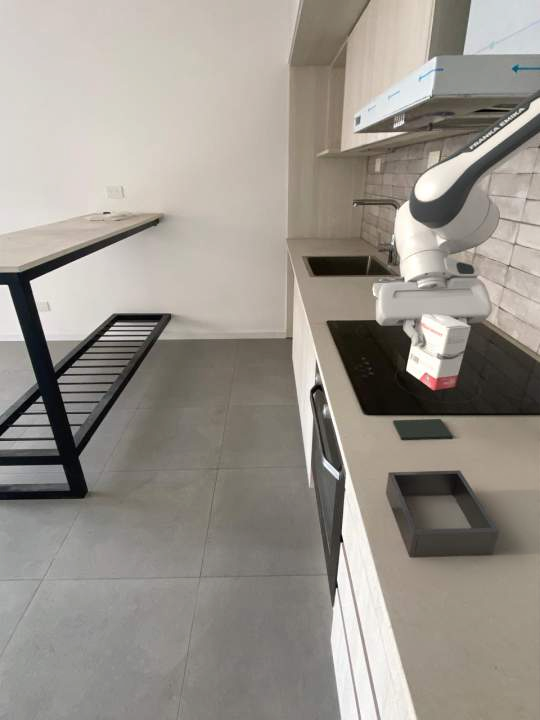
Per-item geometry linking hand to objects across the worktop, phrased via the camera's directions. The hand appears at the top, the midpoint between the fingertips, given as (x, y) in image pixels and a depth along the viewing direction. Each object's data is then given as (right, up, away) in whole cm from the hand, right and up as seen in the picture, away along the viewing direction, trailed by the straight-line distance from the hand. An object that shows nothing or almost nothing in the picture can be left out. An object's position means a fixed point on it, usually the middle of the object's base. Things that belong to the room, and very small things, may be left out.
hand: (438, 344), depth 70 cm
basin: (-5, -27, -11) cm, 30 cm away
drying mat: (+1, -17, +10) cm, 20 cm away
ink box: (0, -6, +3) cm, 7 cm away
